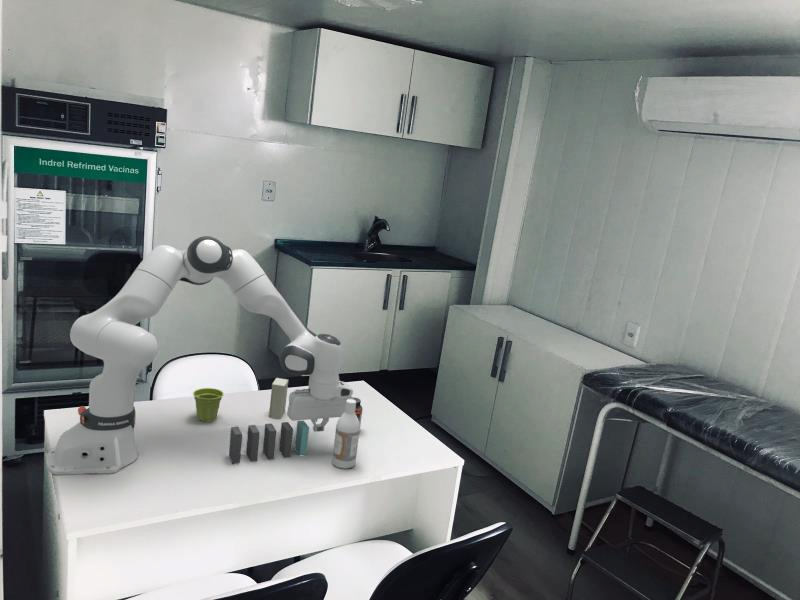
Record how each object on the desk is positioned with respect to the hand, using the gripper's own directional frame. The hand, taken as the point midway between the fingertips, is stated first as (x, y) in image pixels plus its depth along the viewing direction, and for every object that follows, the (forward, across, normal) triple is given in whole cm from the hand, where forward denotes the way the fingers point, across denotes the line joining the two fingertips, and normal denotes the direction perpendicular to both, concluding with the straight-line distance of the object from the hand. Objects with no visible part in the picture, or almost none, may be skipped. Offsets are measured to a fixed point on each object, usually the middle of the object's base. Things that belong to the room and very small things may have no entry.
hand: (318, 430), depth 192 cm
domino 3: (+7, -15, 0) cm, 16 cm away
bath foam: (+7, +5, -10) cm, 13 cm away
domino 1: (+7, -25, 0) cm, 26 cm away
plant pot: (+7, -27, +29) cm, 40 cm away
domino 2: (+7, -20, 0) cm, 21 cm away
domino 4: (+6, -10, 0) cm, 12 cm away
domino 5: (+6, -5, 0) cm, 8 cm away
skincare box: (+7, -4, +27) cm, 28 cm away
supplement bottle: (+7, +16, +10) cm, 20 cm away
